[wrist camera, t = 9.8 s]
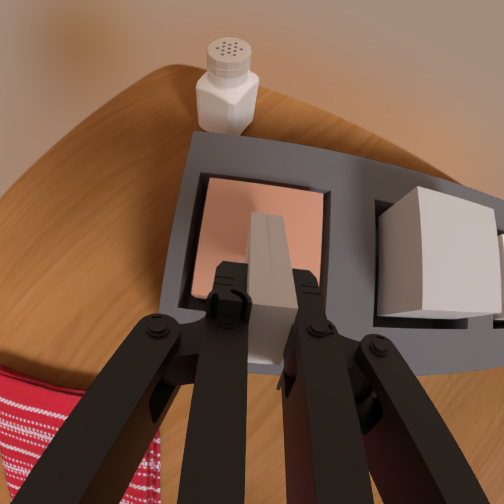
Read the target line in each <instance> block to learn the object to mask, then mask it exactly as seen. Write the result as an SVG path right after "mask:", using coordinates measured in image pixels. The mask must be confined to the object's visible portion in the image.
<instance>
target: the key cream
mask: <svg viewBox="0 0 504 504" xmlns="http://www.w3.org/2000/svg"><path fill="white" fill-rule="evenodd" d="M497 237H498V246H499V257H500V271H501V302H502V310H501V313H498V314H493V323H504V234H501V235H499V236H497Z"/></svg>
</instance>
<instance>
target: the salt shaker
mask: <svg viewBox="0 0 504 504" xmlns="http://www.w3.org/2000/svg"><path fill="white" fill-rule="evenodd" d="M251 55H252V50H251V47H250V45H249V44H248V43H247V42H245V41H244V40H242V39H238V38H233V37H226V38H219V39H217V40H215V41H213V42H211V43H210V45H209V46H208V48H207V70H208V71H207V72H206V73H204V74H203V76H202V77H201V78H200V79H199V80H198V81H197V84H196V99H197V110H198V121H199V126H200V127H201V128H202V129H203V130H205V131H207V132H213V133H222V134H231V135H239V136H240V135H241V133H242V132H243V131H244V130H245V129H246V127H247V126H248V125H249V124H250V123H251V122H252V120H253V116H254V110H255V103H256V97H257V90H258V84H259V78H258V77H257V75H256V74H255V73H253V72H251V71H250V70H249V69H250V62H251Z"/></svg>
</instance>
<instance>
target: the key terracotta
mask: <svg viewBox="0 0 504 504" xmlns="http://www.w3.org/2000/svg"><path fill="white" fill-rule="evenodd" d="M251 212H255V213H263V214H270V215H277V216H283V220H284V226H285V232H286V237H287V243H288V249H289V255H290V261H291V267H292V268H295V269H303V270H310V271H311V272H312V273H313V275H314V276H315V277H316V278H317V281H318V285H319V280H320V264H321V245H322V222H323V194H322V193H317V192H311V191H304V190H298V189H292V188H285V187H279V186H272V185H265V184H258V183H250V182H243V181H235V180H227V179H218V178H210V180H209V185H208V191H207V196H206V202H205V208H204V214H203V220H202V226H201V232H200V238H199V244H198V251H197V257H196V264H195V271H194V278H193V285H192V292H191V294H192V295H193V296H194V297H195V298H196V299H197V300H198V302H201V303H206V301H207V296H208V294H209V292H211V291H212V288H213V282H214V277H215V272H216V267H217V266H218V265H219V264H220V263H221V262H222V261H230V262H238V263H244V259H245V252H246V245H247V239H248V232H249V226H250V219H251Z"/></svg>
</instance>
